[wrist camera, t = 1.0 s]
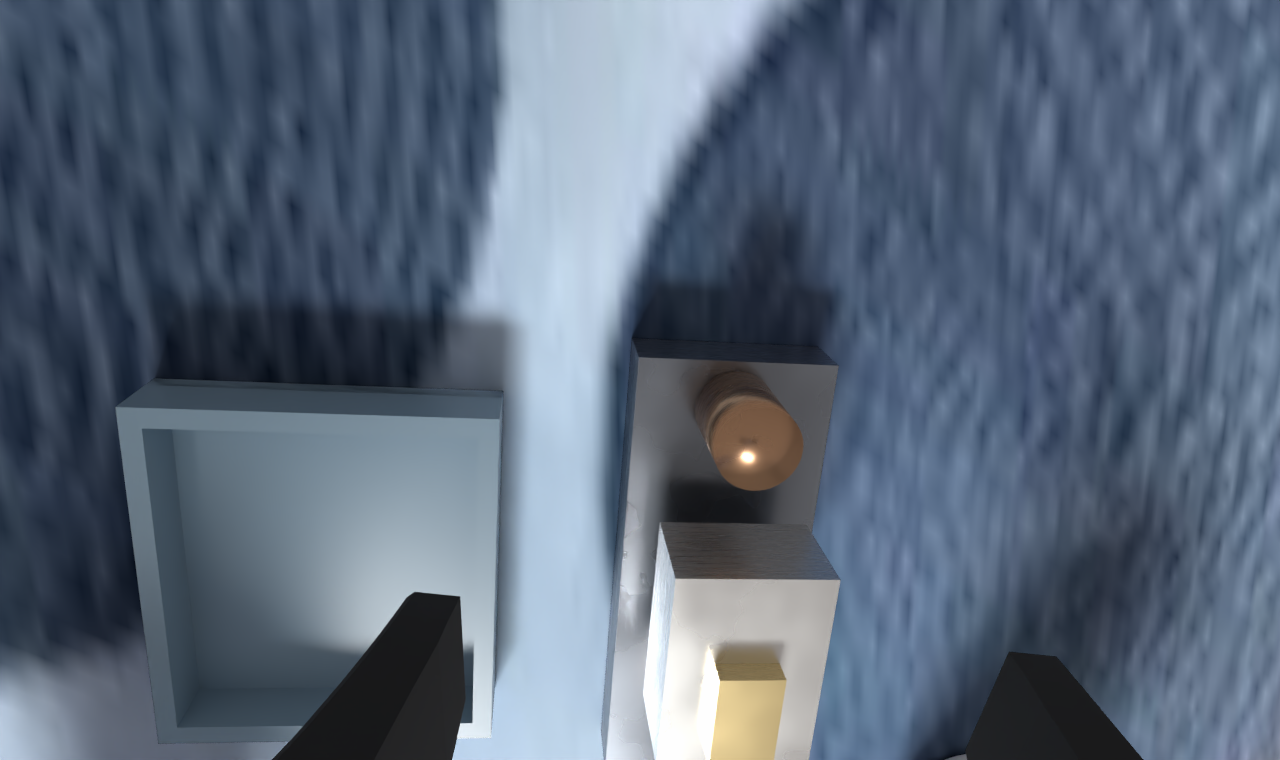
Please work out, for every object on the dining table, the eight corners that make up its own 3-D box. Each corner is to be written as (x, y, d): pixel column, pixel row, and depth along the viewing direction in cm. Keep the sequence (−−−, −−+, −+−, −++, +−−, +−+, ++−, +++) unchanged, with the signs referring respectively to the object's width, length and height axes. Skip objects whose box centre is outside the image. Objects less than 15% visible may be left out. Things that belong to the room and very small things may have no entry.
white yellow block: (779, 691, 27) (815, 782, 23) (643, 693, 26) (658, 785, 23) (806, 524, 25) (849, 594, 21) (660, 522, 24) (679, 594, 21)
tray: (494, 688, 30) (490, 737, 27) (189, 691, 28) (158, 743, 26) (503, 390, 26) (499, 419, 24) (154, 378, 25) (115, 407, 22)
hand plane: (759, 727, 31) (807, 866, 26) (601, 730, 31) (614, 874, 25) (817, 346, 27) (891, 414, 21) (631, 338, 26) (657, 406, 20)
